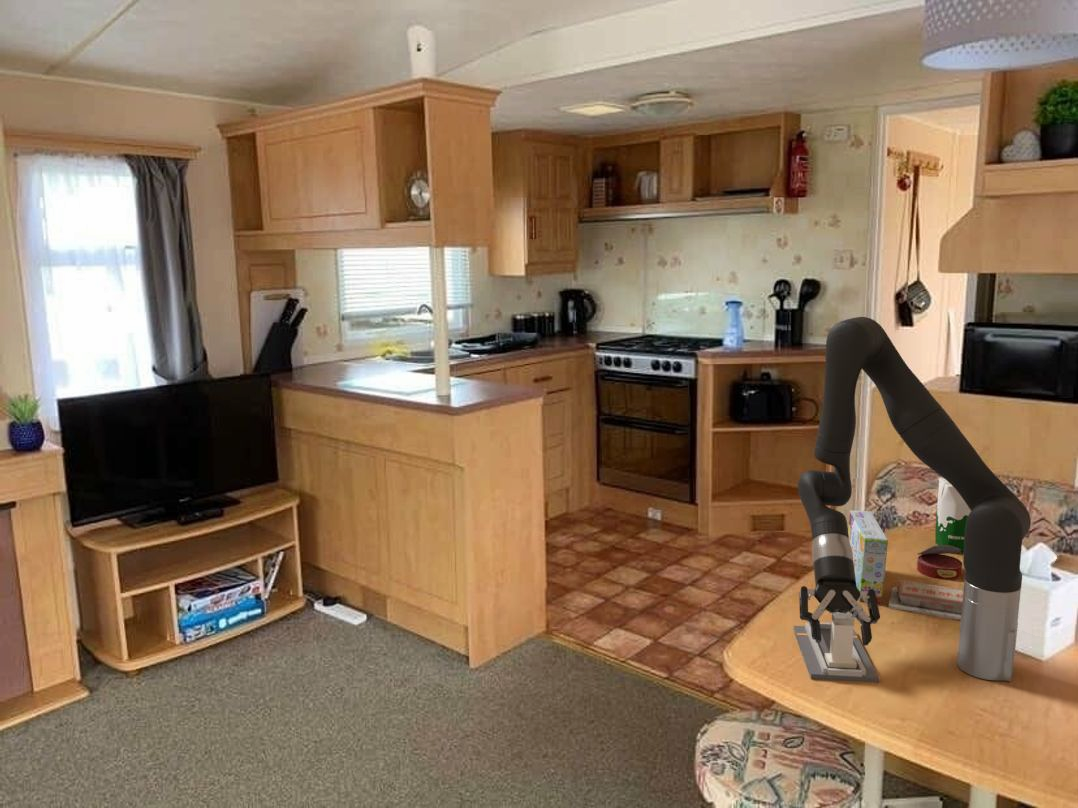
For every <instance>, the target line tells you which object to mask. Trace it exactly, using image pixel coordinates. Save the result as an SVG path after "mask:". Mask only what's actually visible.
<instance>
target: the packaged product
mask: <svg viewBox="0 0 1078 808" xmlns="http://www.w3.org/2000/svg"><path fill="white" fill-rule="evenodd" d="M897 582H898V583H897V584H898V585H897V586H892V589H891V593H890V596H889V601H888V609H894V610H900V611H906V612H907V611H908V612H911V613H916V614H921V615H922V614H923V615H927V616H933V617H937V618H938V617H939V618H943V619H951V620H955V621H961V613H962V602H963V591H964V589H960V588H956V587H955V588H954V587H951V586H950V587H949V586H943V585H938V584H931V583H930V584H929V583H924V582H919V581H918V582H917V581H913V580H912V581H911V580H905V579H900V580H898V581H897Z"/></svg>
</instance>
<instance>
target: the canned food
mask: <svg viewBox="0 0 1078 808" xmlns="http://www.w3.org/2000/svg"><path fill="white" fill-rule="evenodd" d="M960 551H961V550H960V549H959V548H957V547H953V546H949V545H942V546H938V545H933V546H931V547H928V548H927V549H925V550H923V551H921V552H918V553H917V554H916V555H919V556H917V565H916V571H917V572H918V573H920V574H921V575H923V576H925V577H929V578H932V579H937V580H943V581H944V580H945V581H946V580H948V581H950V580H951V581H952V580H958V579H960V578H961V577H962V571H963V561H961V560H960V559H958V558H957V557H954V556H950V555H946V554H954V553H956V554H958V553H957V552H960ZM959 577H960V578H959ZM957 578H958V579H957Z"/></svg>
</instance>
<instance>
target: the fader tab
mask: <svg viewBox="0 0 1078 808" xmlns="http://www.w3.org/2000/svg"><path fill="white" fill-rule="evenodd" d="M830 623H831V640H830V653H825V660H826V662H827V665H828V667H835V668H854V669H856V667H857V663H856V661H855V659H854V657H853V655H852V650H853V634H854V630H855V618H854V617H853V615H852V613H849V612H847V613H839V612H836V613H833V612H832V613H831V622H830Z"/></svg>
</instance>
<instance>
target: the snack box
mask: <svg viewBox="0 0 1078 808" xmlns="http://www.w3.org/2000/svg"><path fill="white" fill-rule="evenodd" d="M848 515H849V516H848V517H849V518H848V535H849V542H850V545H851V549H852V555H853V563H854V570H855V578H856V586H857V588H858V590H859V591H869V590H870V589H873V590H874V591H875V594H876V599H877V603H883V595H884V585H885V584H884V583H885V577H886V566H887V565H886V564H887V554H888V544H889V540H888V538H887V536H886V535H885V533H884V532H883V529H882V528H881V526H880V524H879V523H878V521H877V520H876V517H875V516H874V514H873V513H872V511H870V510H869V511H867V510H851V509H850V510H849V514H848ZM858 600H859V601H861V602H864V601H863V599H862V598H860V597H859V599H858Z"/></svg>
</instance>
